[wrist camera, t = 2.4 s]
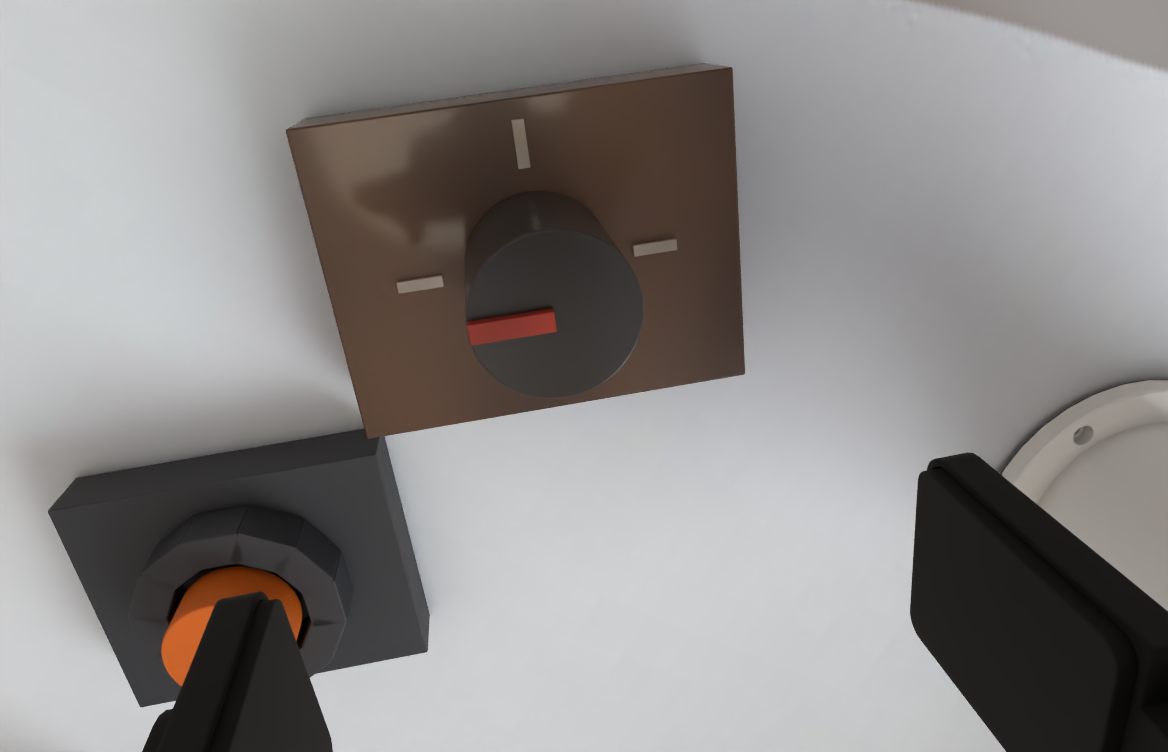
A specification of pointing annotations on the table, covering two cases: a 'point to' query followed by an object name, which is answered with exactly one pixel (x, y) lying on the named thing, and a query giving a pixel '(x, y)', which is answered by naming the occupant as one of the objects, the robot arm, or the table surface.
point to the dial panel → (501, 170)
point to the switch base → (251, 549)
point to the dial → (549, 297)
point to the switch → (200, 605)
